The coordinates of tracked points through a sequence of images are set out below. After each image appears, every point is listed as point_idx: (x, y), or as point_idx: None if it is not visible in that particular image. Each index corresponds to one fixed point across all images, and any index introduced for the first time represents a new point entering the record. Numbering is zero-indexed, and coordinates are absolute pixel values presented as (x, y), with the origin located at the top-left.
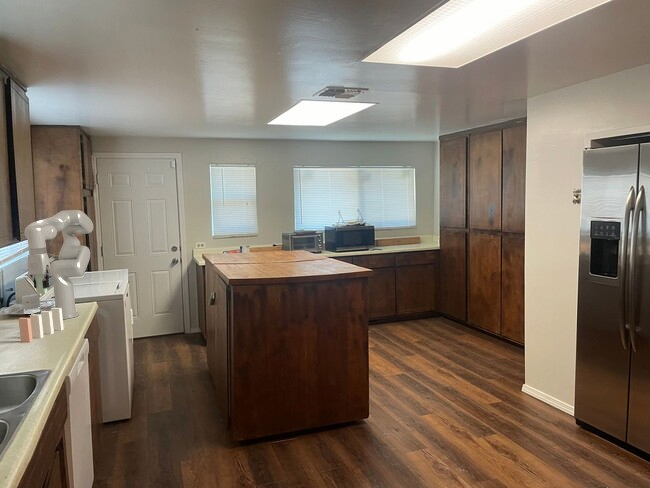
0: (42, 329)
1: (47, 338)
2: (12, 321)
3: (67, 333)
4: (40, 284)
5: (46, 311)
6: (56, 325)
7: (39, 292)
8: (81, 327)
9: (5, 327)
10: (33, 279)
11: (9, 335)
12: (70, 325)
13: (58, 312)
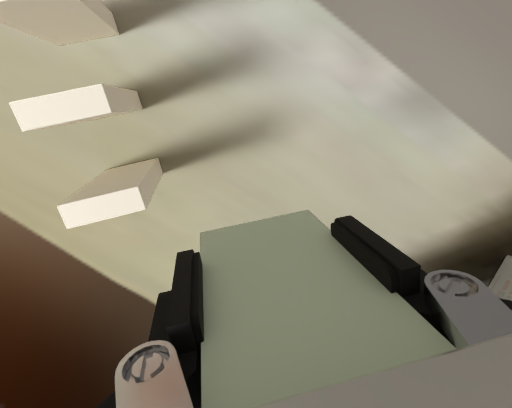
0: (35, 34)
1: (5, 35)
2: (490, 179)
3: (7, 147)
4: (269, 275)
5: (57, 109)
6: (127, 168)
7: (276, 220)
8: (63, 244)
9: (440, 103)
10: (438, 280)
11: (290, 5)
12: (159, 243)
13: (77, 195)
